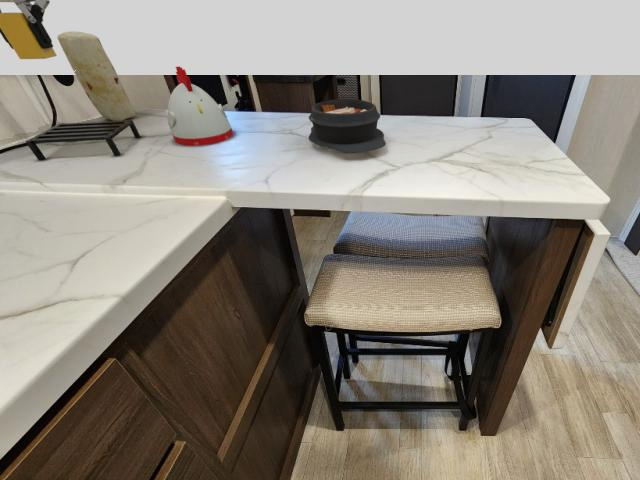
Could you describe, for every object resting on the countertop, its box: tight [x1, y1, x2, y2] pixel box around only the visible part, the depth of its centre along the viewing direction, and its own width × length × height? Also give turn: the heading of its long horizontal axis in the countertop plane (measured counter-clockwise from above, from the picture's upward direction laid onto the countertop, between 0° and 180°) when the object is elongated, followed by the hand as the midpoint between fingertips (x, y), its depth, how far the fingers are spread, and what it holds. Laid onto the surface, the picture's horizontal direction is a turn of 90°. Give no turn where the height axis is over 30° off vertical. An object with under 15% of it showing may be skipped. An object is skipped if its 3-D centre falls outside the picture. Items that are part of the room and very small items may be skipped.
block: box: [0, 12, 58, 60], centre depth 66 cm, size 4×4×7 cm
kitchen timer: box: [164, 65, 234, 147], centre depth 80 cm, size 14×14×15 cm
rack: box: [25, 119, 142, 162], centre depth 77 cm, size 16×14×4 cm
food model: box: [56, 30, 136, 121], centre depth 90 cm, size 10×7×20 cm
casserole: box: [308, 98, 387, 154], centre depth 80 cm, size 25×19×8 cm
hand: (32, 46), depth 67 cm, fingers closed on block, 4 cm apart
